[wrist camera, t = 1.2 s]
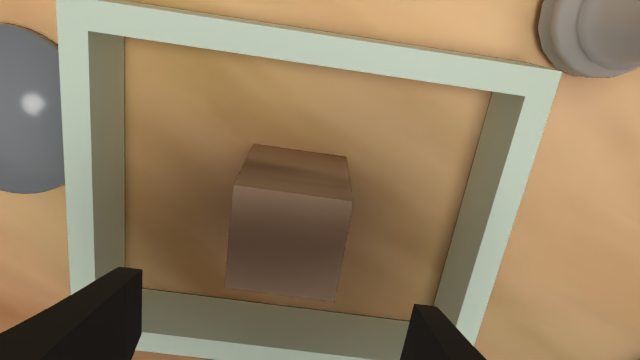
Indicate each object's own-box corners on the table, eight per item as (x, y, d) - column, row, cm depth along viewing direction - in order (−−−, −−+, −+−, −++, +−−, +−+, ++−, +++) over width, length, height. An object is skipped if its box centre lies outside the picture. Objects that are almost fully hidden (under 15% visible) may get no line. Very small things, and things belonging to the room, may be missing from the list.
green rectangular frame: (443, 342, 23) (460, 388, 20) (104, 301, 22) (73, 342, 20) (525, 62, 18) (562, 71, 16) (98, -4, 18) (55, -6, 15)
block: (331, 238, 21) (334, 302, 17) (246, 226, 21) (224, 288, 16) (345, 156, 20) (353, 201, 15) (254, 143, 20) (233, 185, 15)
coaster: (102, 198, 21) (95, 203, 20) (-59, 177, 20) (-70, 182, 20) (98, 36, 18) (91, 37, 18) (-84, 9, 18) (-97, 9, 17)
